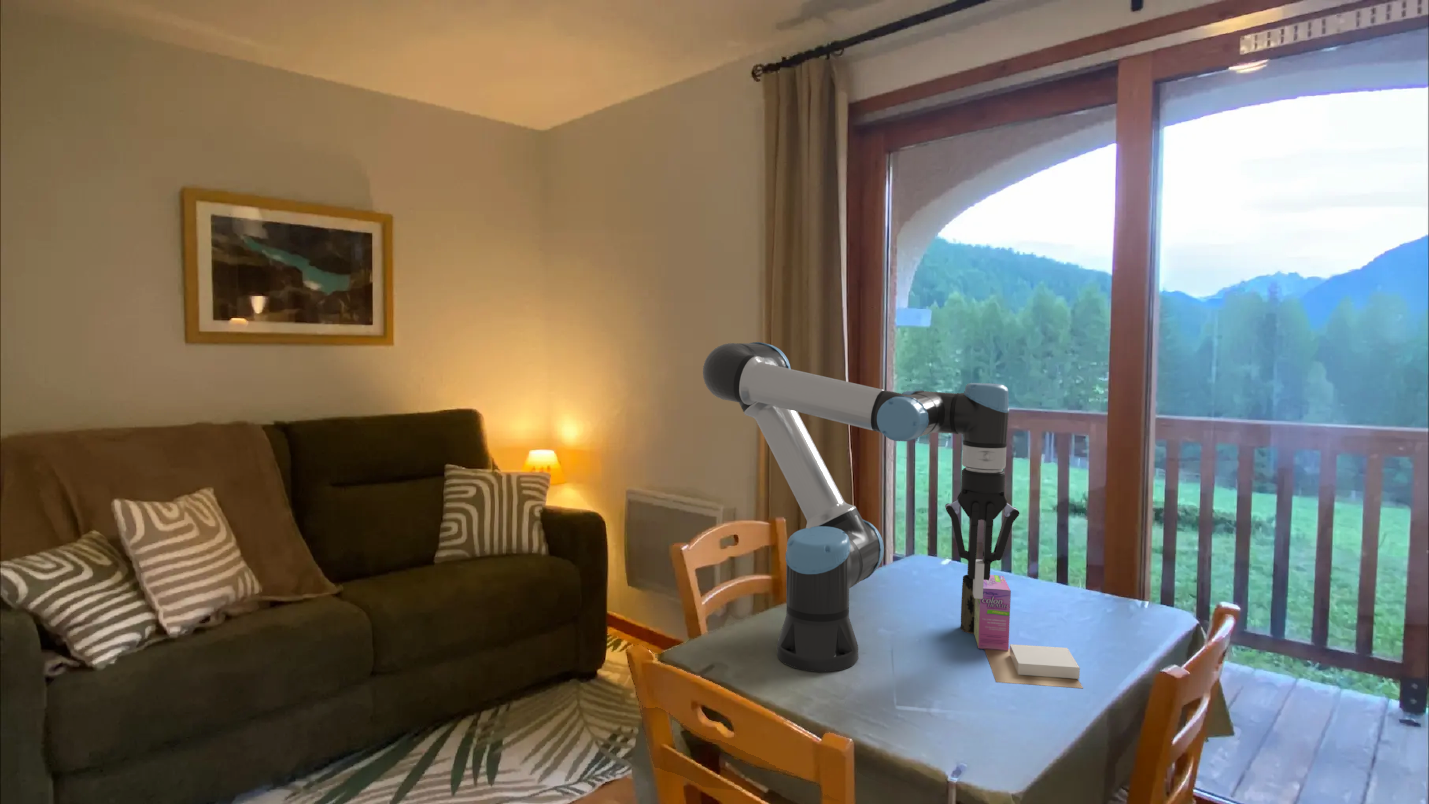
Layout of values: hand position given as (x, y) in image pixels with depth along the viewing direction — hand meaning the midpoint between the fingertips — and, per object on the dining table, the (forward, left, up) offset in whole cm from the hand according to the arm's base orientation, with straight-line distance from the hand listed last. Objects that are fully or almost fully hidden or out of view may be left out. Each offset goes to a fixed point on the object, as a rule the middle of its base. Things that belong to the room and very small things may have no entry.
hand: (977, 595), depth 146 cm
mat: (+9, -2, -12) cm, 15 cm away
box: (+4, +10, -12) cm, 16 cm away
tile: (+6, -2, -11) cm, 12 cm away
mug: (+2, +17, -12) cm, 21 cm away
